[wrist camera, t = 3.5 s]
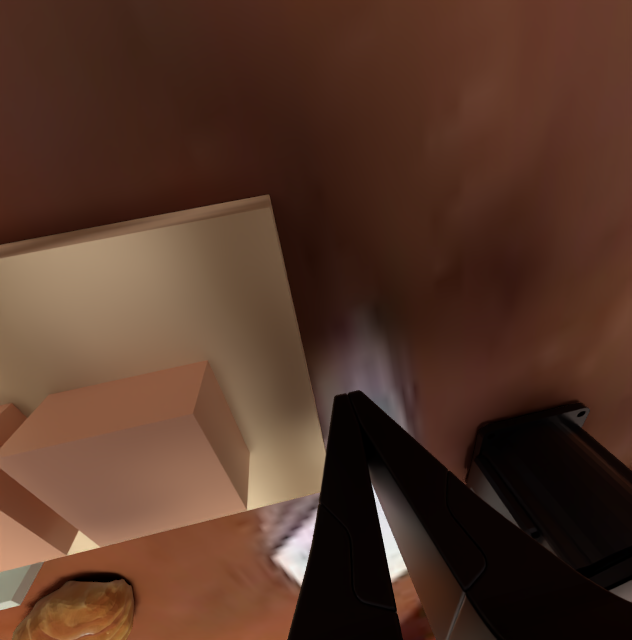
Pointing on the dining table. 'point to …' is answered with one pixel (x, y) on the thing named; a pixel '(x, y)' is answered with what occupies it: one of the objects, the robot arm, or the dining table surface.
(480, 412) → the dining table surface
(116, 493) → the tile
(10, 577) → the tray
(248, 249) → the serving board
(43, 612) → the pastry
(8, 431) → the tile
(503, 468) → the robot arm
